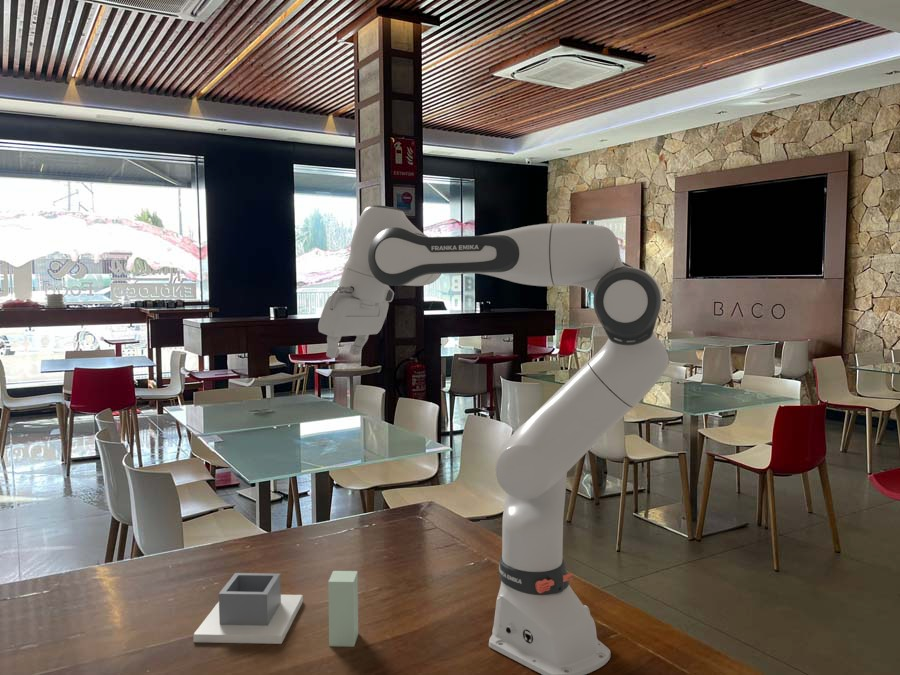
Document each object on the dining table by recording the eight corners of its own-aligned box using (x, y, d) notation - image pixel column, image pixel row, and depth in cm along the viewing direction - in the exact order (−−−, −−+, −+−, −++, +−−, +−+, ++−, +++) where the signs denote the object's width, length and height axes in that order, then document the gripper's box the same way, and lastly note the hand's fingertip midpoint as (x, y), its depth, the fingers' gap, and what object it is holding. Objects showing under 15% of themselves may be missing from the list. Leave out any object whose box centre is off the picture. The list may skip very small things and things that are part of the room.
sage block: (334, 633, 128) (333, 570, 127) (358, 633, 128) (357, 571, 127) (329, 646, 123) (328, 581, 122) (354, 646, 123) (353, 581, 122)
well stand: (224, 600, 140) (223, 565, 140) (302, 602, 140) (302, 566, 139) (193, 642, 125) (192, 602, 124) (281, 643, 124) (280, 603, 123)
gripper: (351, 291, 121) (330, 364, 123) (398, 294, 141) (379, 357, 143) (321, 280, 123) (301, 353, 125) (371, 285, 143) (353, 348, 145)
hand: (343, 355), depth 134 cm, fingers open, 8 cm apart
